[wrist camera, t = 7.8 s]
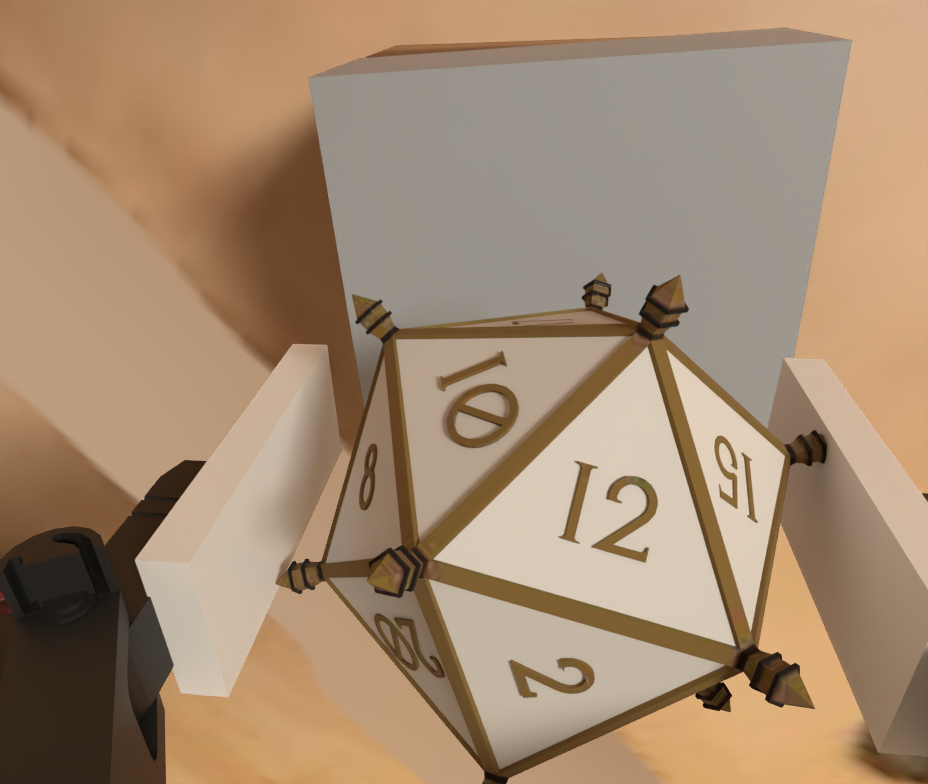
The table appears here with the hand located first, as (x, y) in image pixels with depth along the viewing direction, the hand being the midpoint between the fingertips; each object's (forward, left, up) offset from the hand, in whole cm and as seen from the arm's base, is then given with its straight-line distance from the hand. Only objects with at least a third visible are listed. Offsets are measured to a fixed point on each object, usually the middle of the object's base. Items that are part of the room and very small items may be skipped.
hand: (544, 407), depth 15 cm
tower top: (0, +1, -10) cm, 10 cm away
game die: (0, 0, -1) cm, 1 cm away
